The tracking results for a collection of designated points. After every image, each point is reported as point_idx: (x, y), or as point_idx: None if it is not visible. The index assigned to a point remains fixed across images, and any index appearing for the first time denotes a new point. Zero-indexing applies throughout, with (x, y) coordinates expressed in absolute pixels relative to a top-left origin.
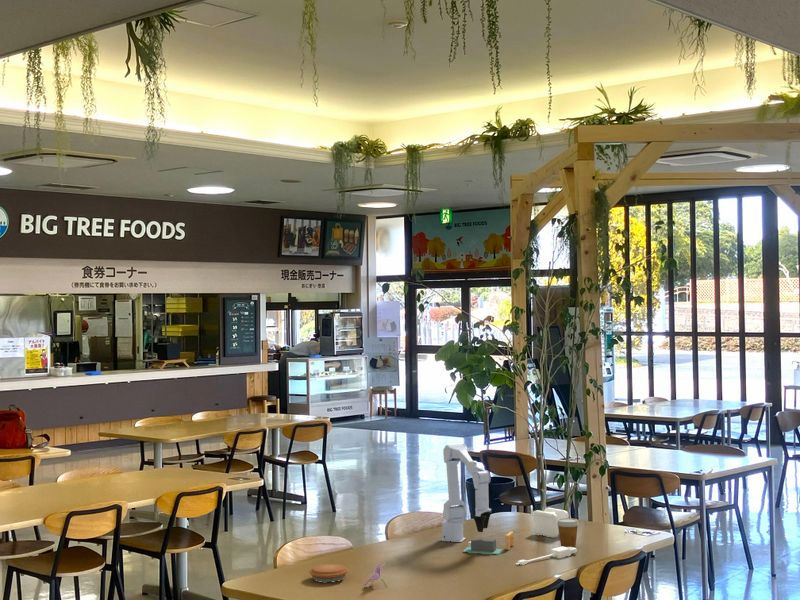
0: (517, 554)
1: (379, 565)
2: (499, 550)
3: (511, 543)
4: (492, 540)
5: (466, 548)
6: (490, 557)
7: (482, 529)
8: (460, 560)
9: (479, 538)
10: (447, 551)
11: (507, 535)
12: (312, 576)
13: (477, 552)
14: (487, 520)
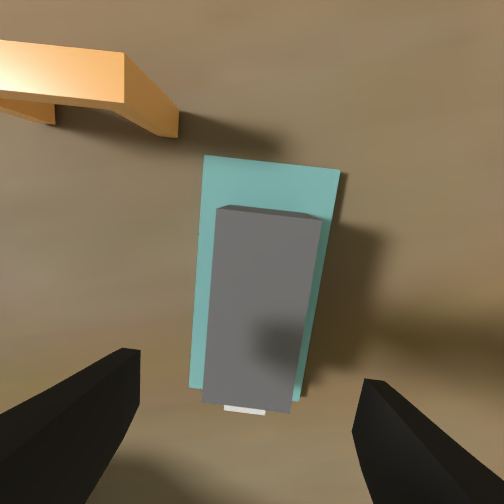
0: (303, 20)
1: None
2: (244, 177)
3: (40, 104)
4: (276, 234)
5: None
6: (413, 217)
7: (414, 407)
8: (497, 383)
9: (214, 357)
10: (282, 468)
11: (115, 78)
12: None
13: (313, 316)
14: (38, 447)
